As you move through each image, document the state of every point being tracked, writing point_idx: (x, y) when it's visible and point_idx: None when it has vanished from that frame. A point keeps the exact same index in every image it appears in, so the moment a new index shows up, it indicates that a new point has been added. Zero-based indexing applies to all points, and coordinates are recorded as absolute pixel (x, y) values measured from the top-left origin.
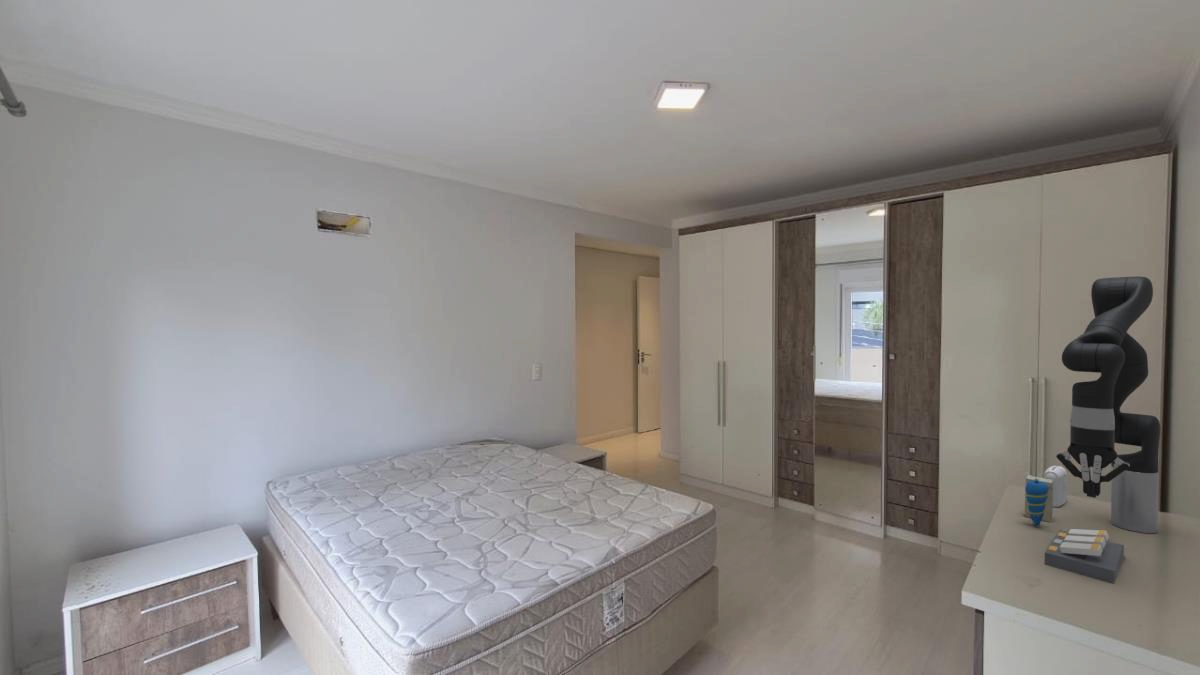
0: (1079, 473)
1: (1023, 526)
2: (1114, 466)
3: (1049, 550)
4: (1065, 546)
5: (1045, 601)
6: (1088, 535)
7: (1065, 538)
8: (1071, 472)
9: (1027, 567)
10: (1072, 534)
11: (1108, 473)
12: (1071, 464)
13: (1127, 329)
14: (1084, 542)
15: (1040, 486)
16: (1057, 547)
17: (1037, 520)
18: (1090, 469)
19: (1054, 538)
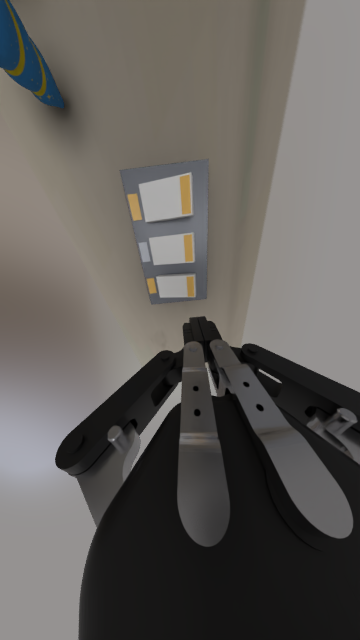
0: (177, 380)
1: (55, 140)
2: (309, 426)
3: (151, 294)
4: (164, 294)
5: None
6: (171, 218)
7: (152, 257)
8: (158, 386)
9: (148, 318)
10: (151, 221)
11: (263, 370)
12: (149, 409)
13: None
14: (175, 262)
15: None
16: (153, 279)
17: (56, 104)
18: (206, 368)
19: (136, 239)
